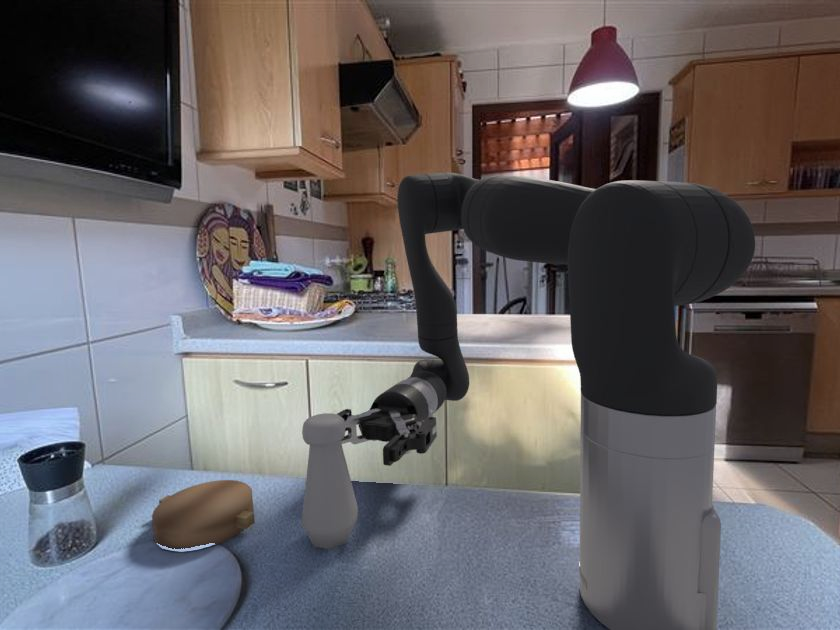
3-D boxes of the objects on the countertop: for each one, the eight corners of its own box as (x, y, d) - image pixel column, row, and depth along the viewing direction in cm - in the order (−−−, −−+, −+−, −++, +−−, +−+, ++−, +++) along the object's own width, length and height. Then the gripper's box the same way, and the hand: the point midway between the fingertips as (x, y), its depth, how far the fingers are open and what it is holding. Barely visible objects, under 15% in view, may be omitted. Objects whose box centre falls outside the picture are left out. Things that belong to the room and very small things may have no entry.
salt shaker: (365, 521, 48) (358, 407, 47) (351, 556, 42) (344, 427, 41) (313, 520, 49) (306, 407, 47) (294, 554, 43) (284, 427, 41)
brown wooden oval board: (281, 508, 51) (279, 488, 51) (214, 563, 42) (212, 539, 42) (200, 492, 56) (198, 474, 55) (123, 539, 46) (120, 517, 46)
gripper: (362, 380, 67) (297, 415, 51) (451, 386, 62) (408, 427, 46) (364, 427, 67) (301, 476, 52) (453, 437, 62) (411, 493, 47)
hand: (352, 452), depth 49 cm, fingers open, 8 cm apart
